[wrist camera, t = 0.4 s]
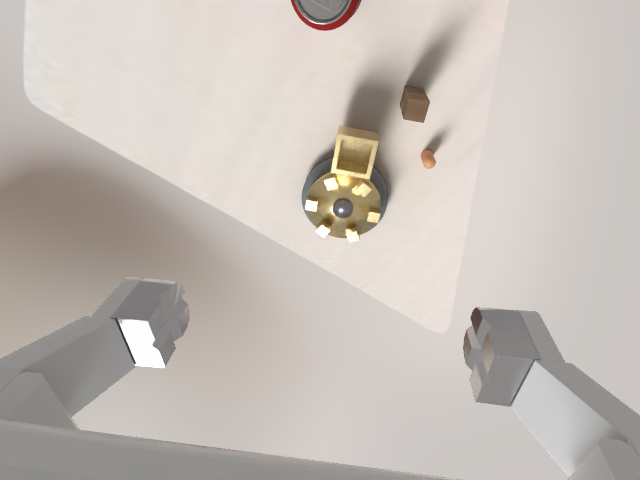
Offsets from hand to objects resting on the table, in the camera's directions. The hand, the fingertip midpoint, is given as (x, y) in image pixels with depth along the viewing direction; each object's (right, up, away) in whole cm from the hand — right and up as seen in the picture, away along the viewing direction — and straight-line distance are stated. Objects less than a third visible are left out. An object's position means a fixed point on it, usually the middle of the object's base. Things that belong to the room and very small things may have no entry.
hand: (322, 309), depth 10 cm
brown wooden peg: (+12, +21, +38) cm, 45 cm away
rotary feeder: (+4, +10, +43) cm, 45 cm away
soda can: (+2, +31, +33) cm, 45 cm away
